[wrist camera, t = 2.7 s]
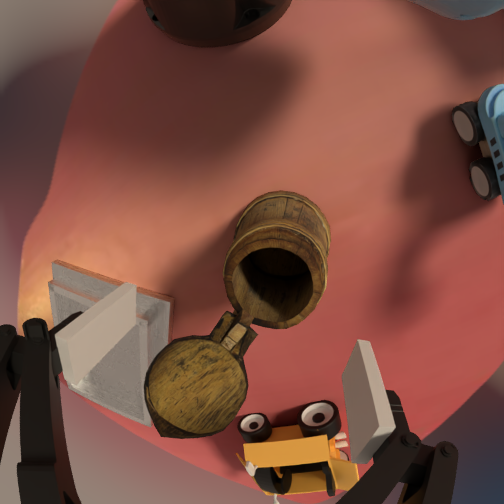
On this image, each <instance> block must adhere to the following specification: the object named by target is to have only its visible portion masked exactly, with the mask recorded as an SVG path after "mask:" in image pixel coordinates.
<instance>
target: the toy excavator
mask: <svg viewBox="0 0 504 504" xmlns="http://www.w3.org/2000/svg"><path fill="white" fill-rule="evenodd" d="M452 122H453V123H454V124H455V127H456V129H457V131H458V133H459V135H460V138H461V139H462V141H463V142H464V143H465V144H467V145H468V146H474V145H476V144H477V143H479V145H480V148H481V151H482V155H483V158H480V159H478V160H475V161H473V162H471V164H470V168H469V172H470V171H471V176H472V179H471V177H470V181H471V183H472V185H473V188H474V190H475V191H476V193H477V194H478V195H479V196H480V197H481V198H482V199H484V200H486V199H487V200H488V201H489V200H491V199H493V198H495V197H497V196H499V195H501V196H502V200H503V204H504V84H499V85H495V86H492V87H489V88H488V89H486V90H485V91H484V92H483V93H482V95H481V97H480V99H479V101H478V102H465V103H463V104H460V105H459V106H456V107H455V108H453V111H452Z"/></svg>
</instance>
